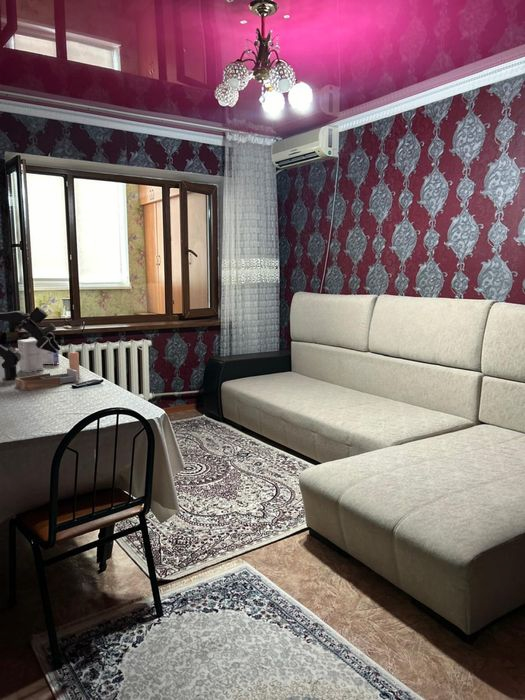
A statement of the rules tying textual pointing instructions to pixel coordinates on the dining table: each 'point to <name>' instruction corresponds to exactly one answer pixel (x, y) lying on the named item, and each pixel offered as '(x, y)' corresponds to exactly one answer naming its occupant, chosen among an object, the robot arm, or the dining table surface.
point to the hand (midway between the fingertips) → (58, 351)
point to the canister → (74, 361)
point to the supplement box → (30, 355)
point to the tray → (65, 376)
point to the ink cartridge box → (50, 357)
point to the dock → (36, 382)
